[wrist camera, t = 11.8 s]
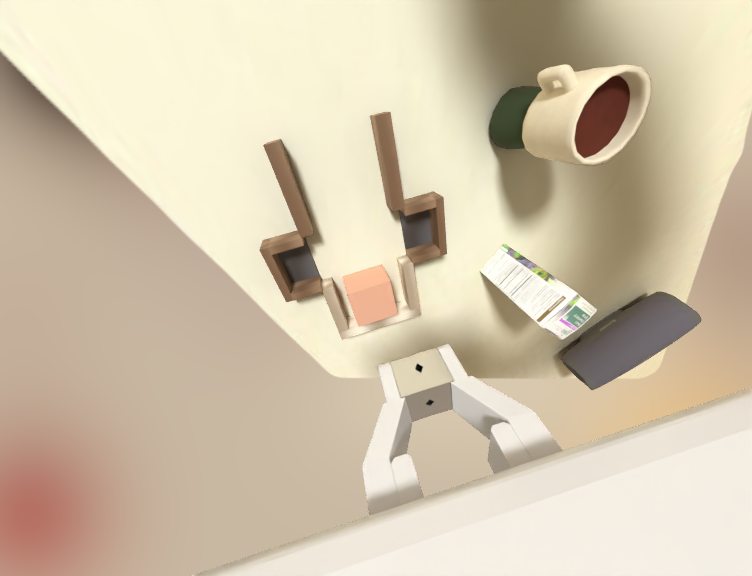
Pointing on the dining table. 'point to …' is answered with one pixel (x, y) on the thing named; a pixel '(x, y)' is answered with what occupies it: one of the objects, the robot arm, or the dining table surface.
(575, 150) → the character mug
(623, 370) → the bluetooth speaker
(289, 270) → the trap channel
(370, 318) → the terracotta block
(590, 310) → the syrup box
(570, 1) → the dining table surface
